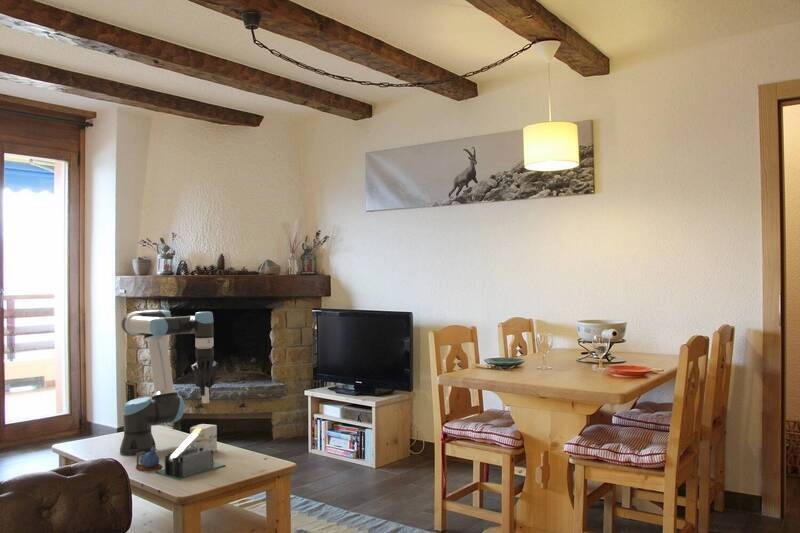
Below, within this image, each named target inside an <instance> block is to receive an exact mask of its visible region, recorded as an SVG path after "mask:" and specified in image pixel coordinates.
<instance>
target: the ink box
mask: <svg viewBox="0 0 800 533" xmlns="http://www.w3.org/2000/svg"><path fill="white" fill-rule="evenodd" d="M196 428H201V429H203V430H204V431H203V432H202V434H201V435H200V436H199V437H198V438H197V439H196V440H195V441H194V442H193V443H192V444H191V445H190V446H189V448H191V447H198V452H200V451H199V448H203V451H204V450H213V453H214V452H216V451H217V450H218V445H217V442H218V441H217V440H218V437H217V436H218V433H217V432H218V429H217V428H218V425H217V424H206V423H200V424H197V425H193V426H192V427H190V428H189V436H190V435H191V434H192V433H193V431H194V430H195V429H196Z"/></svg>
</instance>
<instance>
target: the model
mask: <svg viewBox="0 0 800 533" xmlns="http://www.w3.org/2000/svg"><path fill="white" fill-rule="evenodd" d="M139 456H140V457H139ZM140 458H141V459H140ZM135 468H136V469H137V471H139V472H141V471H142V473H143V472H144V471H145V472H150V473H151V472H153V471H155V472H156V471H159V470H163V465H162V464H161V463H160V458H159V455H158V453H157V452H156V450H155V448H153V447H152V448H151V450H150V452H147V453H145V451H144V452H139V453H137V455H136V465H135ZM136 469H135V470H136Z"/></svg>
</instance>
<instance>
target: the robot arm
mask: <svg viewBox="0 0 800 533" xmlns="http://www.w3.org/2000/svg"><path fill="white" fill-rule="evenodd" d="M213 314H214V313H213V312H212V311H198V312H195V314H194V315H187V316H173V317H172V314H170V312H169V311H168V310H164V309H155V310H154V309H153V310H137V311H136V310H135V311H131V312H129V313H127V314H125V316H123V318H122V320H121V329H122V331H123V332H124V333H125V334H127V335H130V336H143V337H144V340H145V342H147V343H148V349H149V350H148V351H149V357H150V365H151V366H150V367H151V376H152V382H153V394H152V396H151V397H147V396H146V397H138V398H134V399H131V400H129V401H127V402H125V403H124V406H123V413H122V414H123V436H122V440H121V444H120V447H119V454H121V455H124V456H137V453H139V452H144V451H145V454H146V453H147V452H150V450H151V448H152V447H153V448H155V451H156V448H157V447H156V446H157V445H156V441H155V439H154V436H153V434H152V427H153V426H156V425H157V426H158V425H163V424H171V423H174V422H178V421H180V419H182V417H183V414H184V411H185V401H184V399H183V397H182V396H181V395H179V394H178V391H177V390H175V388H174V382H173V375H172V366H171V359H170V350H169V343H168V339H169V338H170V337H171V336H172V335H182V334H184V335H185V334H186V335H187V334H194V336H195V337H194V338H195V339H194V340H195V342H194V343H195V358H196V359H195V361H194V362H195V363H194V364H191V365H190V369H191V370H192V374H193V378H194V382H195V383H194V384H195V387H196V388H199V389H200V396H201V403H202V404H210V395H211V388H212V387H213V386H214V385H215V383H216V382H215V381H216V376H217V370H218V367H219V365H220V362H216V361H215V359H214V356H215V354H214V352H215V350H214V315H213Z"/></svg>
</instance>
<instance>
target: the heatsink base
mask: <svg viewBox="0 0 800 533" xmlns="http://www.w3.org/2000/svg"><path fill="white" fill-rule="evenodd" d="M199 451H200V452H198V447H191V448H190V447H188V449H187V450H186V451H185V452H184V453H183V454H182V455H181V456H180V457H175V458H173V462H169V461H167V459H168V458H169V457H170V456H171V455H172V454H173V453H174V452H175V451H171V452H168V453H166V455H164V468H162V469H159V470H155V474H157V475H158V474H159V475H160V476H165V477H167V478H173V479H175V480H181V479H186V478H190V477H192V476H195V475H199V474H200V475H201V474H203V473H207V472H210V471H214V470H217V469H220V468H224V467H226V466H227V465H226V464H224V463H220V462H217V461H214V452H213V450H204V451H203V448H199Z"/></svg>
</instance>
